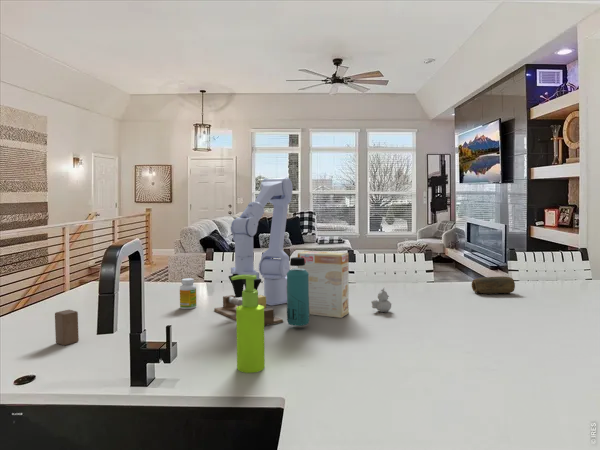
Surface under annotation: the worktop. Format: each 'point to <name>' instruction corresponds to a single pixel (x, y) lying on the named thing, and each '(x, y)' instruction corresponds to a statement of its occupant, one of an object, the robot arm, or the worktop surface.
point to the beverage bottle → (297, 294)
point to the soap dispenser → (250, 329)
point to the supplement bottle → (187, 294)
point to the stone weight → (493, 285)
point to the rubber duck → (382, 302)
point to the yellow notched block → (262, 300)
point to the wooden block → (66, 327)
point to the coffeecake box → (327, 282)
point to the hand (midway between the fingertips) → (244, 299)
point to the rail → (232, 312)
